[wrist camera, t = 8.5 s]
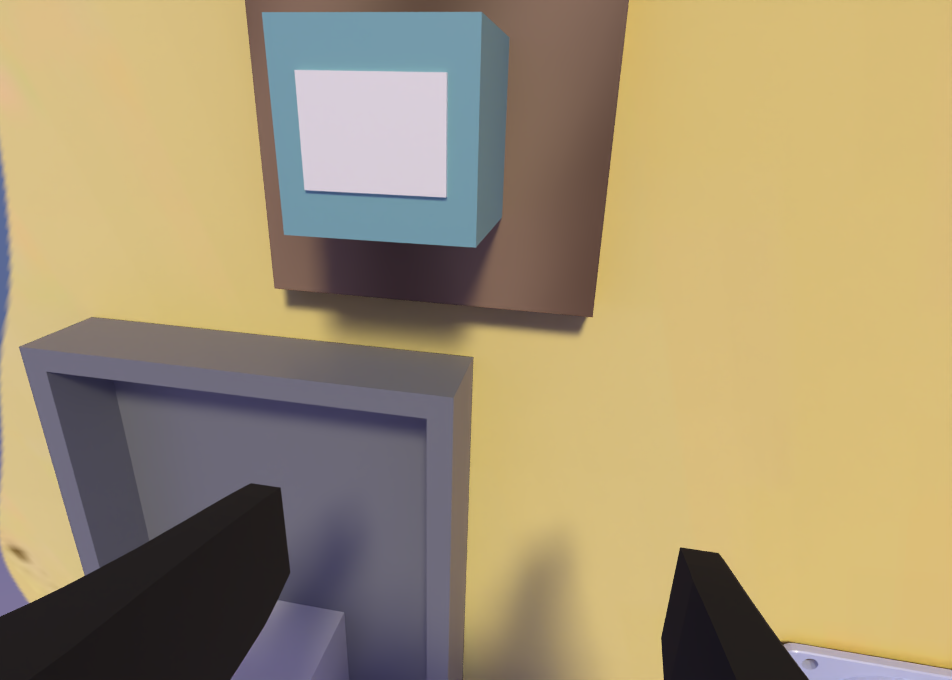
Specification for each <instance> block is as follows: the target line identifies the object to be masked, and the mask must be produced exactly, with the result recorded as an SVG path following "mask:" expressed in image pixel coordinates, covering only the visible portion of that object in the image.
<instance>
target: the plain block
mask: <svg viewBox="0 0 952 680" xmlns="http://www.w3.org/2000/svg"><path fill="white" fill-rule="evenodd" d="M231 680H349V672H348V658H347V644H346V630H345V616H344V612H340V611H334V610H329V609H323V608H318V607H312V606H307V605H302V604H296V603H291V602H285V601H280V600H278V601H277V603H276V605H275V607H274V609H273V611H272V613H271V615H270V617H269V618H268V620H267V622H266V624H265V626H264V628H263V629H262V631H261V633H260V634H259V636H258V637H257V639H256V641H255V642H254V644H253V645H252V647H251V648H250V650H249V652H248V653H247V655H246V656H245V658H244V659H243V661H242V663H241V664H240V666H239V667H238V669H237V670H236V672H235V674H234V675H233V677H232V678H231Z"/></svg>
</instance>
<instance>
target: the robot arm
mask: <svg viewBox="0 0 952 680" xmlns="http://www.w3.org/2000/svg"><path fill="white" fill-rule="evenodd" d="M289 575H290V564H289V555H288V547H287V538H286V529H285V520H284V512H283V503H282V494H281V488H280V487H274V486H267V485H260V484H254V483H250V484H248V485H246V486H244V487H243V488H241V489H239V490H237V491H235V492H233V493H231V494H230V495H228V496H226V497H224V498H223V499H221V500H219V501H217V502H216V503H214V504H212V505H210V506H209V507H207V508H205V509H204V510H202V511H200V512H198V513H197V514H195V515H193V516H192V517H190V518H188V519H186V520H185V521H183V522H181V523H180V524H178V525H176V526H174V527H173V528H171V529H169V530H167V531H166V532H164V533H162V534H160V535H159V536H157V537H155V538H154V539H152V540H150V541H148V542H147V543H145V544H143V545H141V546H140V547H138V548H136V549H134V550H132V551H130V552H129V553H127V554H125V555H123V556H121V557H119V558H117V559H116V560H114V561H112V562H110V563H108V564H106V565H104V566H102V567H101V568H99V569H97V570H95V571H93V572H91V573H89V574H87V575H86V576H84V577H82V578H80V579H78V580H76V581H74V582H72V583H70V584H68V585H66V586H64V587H62V588H60V589H58V590H56V591H54V592H52V593H50V594H48V595H46V596H44V597H42V598H40V599H38V600H36V601H34V602H32V603H29V604H27V605H25V606H23V607H21V608H18V609H16V610H14V611H12V612H10V613H7V614H5V615H3V616H1V617H0V680H231V678H232V677H233V675H234V674H235V672H236V670H237V669H238V667H239V666H240V664H241V663H242V661H243V659H244V658H245V656H246V655H247V653H248V652H249V650H250V648H251V647H252V645H253V644H254V642H255V641H256V639H257V637H258V636H259V634H260V633H261V631H262V629H263V628H264V626H265V624H266V622H267V620H268V618H269V617H270V615H271V613H272V611H273V609H274V607H275V605H276V603H277V601H278V598H279V596H280V594H281V592H282V590H283V588H284V586H285V583H286V581H287V579H288V577H289ZM661 640H662V656H663V673H664V680H952V670H950V669H944V668H938V667H932V666H926V665H921V664H915V663H909V662H903V661H897V660H891V659H885V658H879V657H874V656H868V655H862V654H856V653H850V652H844V651H838V650H833V649H827V648H821V647H815V646H809V645H803V644H797V643H787V644H784V645H783V644H782V643H781V642H780V640H779V639H778V637H777V636H776V635H775V633H774V632H773V630H772V629H771V628H770V626H769V625H768V623H767V622H766V621H765V619H764V618H763V616H762V615H761V613H760V612H759V611H758V609H757V608H756V606H755V605H754V603H753V602H752V601H751V599H750V598H749V596H748V595H747V593H746V592H745V590H744V589H743V587H742V586H741V584H740V583H739V582H738V580H737V579H736V577H735V576H734V574H733V573H732V571H731V570H730V568H729V567H728V565H727V564H726V562H725V561H724V559H723V558H722V557H721V556H720V554H719V553H714V552H707V551H700V550H694V549H687V548H680V551H679V555H678V560H677V565H676V570H675V575H674V579H673V584H672V589H671V594H670V599H669V603H668V608H667V613H666V618H665V623H664V627H663V632H662V637H661ZM806 659H810V660H806Z"/></svg>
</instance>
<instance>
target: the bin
mask: <svg viewBox="0 0 952 680" xmlns="http://www.w3.org/2000/svg"><path fill="white" fill-rule="evenodd" d="M19 348H20V352H21V355H22V359H23V362H24V366H25V369H26V373H27V376H28V380H29V383H30V387H31V390H32V394H33V397H34V401H35V404H36V408H37V411H38V415H39V418H40V421H41V425H42V428H43V432H44V435H45V439H46V442H47V446H48V449H49V453H50V456H51V460H52V463H53V467H54V470H55V474H56V477H57V481H58V484H59V488H60V491H61V494H62V498H63V501H64V505H65V508H66V512H67V515H68V519H69V522H70V526H71V529H72V533H73V536H74V540H75V543H76V547H77V550H78V554H79V557H80V561H81V564H82V567H83V571H84V574H85V576H86V575H87V574H89V573H91V572H93V571H95V570H97V569H99V568H101V567H102V566H104V565H106V564H108V563H110V562H112V561H114V560H116V559H117V558H119V557H121V556H123V555H125V554H127V553H129V552H130V551H132V550H134V549H136V548H138V547H140V546H141V545H143V544H145V543H147V542H148V541H150V540H152V539H154V538H155V537H157V536H159V535H160V534H162V533H164V532H166V531H167V530H169V529H171V528H173V527H174V526H176V525H178V524H180V523H181V522H183V521H185V520H186V519H188V518H190V517H192V516H193V515H195V514H197V513H198V512H200V511H202V510H204V509H205V508H207V507H209V506H210V505H212V504H214V503H216V502H217V501H219V500H221V499H223V498H224V497H226V496H228V495H230V494H231V493H233V492H235V491H237V490H239V489H241V488H243V487H244V486H246V485H248V484H250V483H254V484H260V485H267V486H274V487H280V488H281V494H282V503H283V512H284V520H285V529H286V538H287V547H288V555H289V564H290V575H289V577H288V579H287V581H286V583H285V586H284V588H283V590H282V592H281V594H280V596H279V598H278V600H280V601H285V602H291V603H296V604H302V605H307V606H312V607H318V608H323V609H329V610H334V611H340V612H344V616H345V630H346V644H347V658H348V672H349V680H463V652H464V622H465V592H466V562H467V532H468V502H469V472H470V442H471V412H472V382H473V357H467V356H458V355H448V354H439V353H429V352H419V351H410V350H400V349H391V348H381V347H372V346H362V345H353V344H343V343H334V342H324V341H315V340H305V339H296V338H286V337H277V336H267V335H257V334H248V333H238V332H229V331H219V330H210V329H200V328H191V327H181V326H172V325H162V324H153V323H143V322H134V321H124V320H114V319H105V318H95V317H91V318H89V319H86V320H84V321H81V322H79V323H76V324H74V325H71V326H69V327H67V328H64V329H62V330H59V331H57V332H54V333H52V334H49V335H47V336H44V337H42V338H40V339H37V340H35V341H32V342H30V343H27V344H25V345H22V346H20V347H19Z"/></svg>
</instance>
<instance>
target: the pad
mask: <svg viewBox="0 0 952 680" xmlns="http://www.w3.org/2000/svg"><path fill="white" fill-rule="evenodd" d="M628 3H629V0H245V5H246V15H247V25H248V35H249V44H250V54H251V64H252V73H253V83H254V93H255V103H256V112H257V122H258V132H259V141H260V151H261V161H262V171H263V180H264V190H265V200H266V209H267V219H268V229H269V239H270V248H271V258H272V268H273V277H274V287H275V288H277V289H288V290H299V291H310V292H321V293H332V294H343V295H354V296H365V297H376V298H387V299H398V300H409V301H420V302H431V303H442V304H453V305H464V306H476V307H487V308H498V309H509V310H520V311H531V312H542V313H553V314H564V315H575V316H586V317H593V308H594V299H595V291H596V282H597V273H598V264H599V256H600V247H601V238H602V230H603V221H604V212H605V203H606V195H607V186H608V177H609V169H610V160H611V151H612V142H613V134H614V125H615V116H616V108H617V99H618V90H619V81H620V73H621V64H622V55H623V47H624V38H625V29H626V20H627V12H628ZM262 12H482V13H484V14H485V15H486V16H487V17H488V18H489V19H490V20H491V21H492V22H493V23H494V24H495V25H497V26H498V27H499V28H500V29H501V30H502V31H503V32H504V33H505V34H506V35H507V36H508V37H509V38H510V39H509V63H508V87H507V111H506V135H505V159H504V184H503V208H502V218H501V219H500V220H499V221H498V223H497V224H496V225H495V226H494V227H493V228H492V230H491V231H490V232H489V233H488V234H487V235H486V237H485V238H484V239H483V240H482V241H481V242H480V243H479V245H478V246H477V247H476V248H474V247H459V246H443V245H428V244H413V243H398V242H383V241H368V240H353V239H338V238H323V237H308V236H293V235H284V229H283V219H282V209H281V199H280V189H279V179H278V169H277V159H276V149H275V139H274V129H273V119H272V109H271V99H270V89H269V79H268V69H267V59H266V49H265V39H264V29H263V19H262Z"/></svg>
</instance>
